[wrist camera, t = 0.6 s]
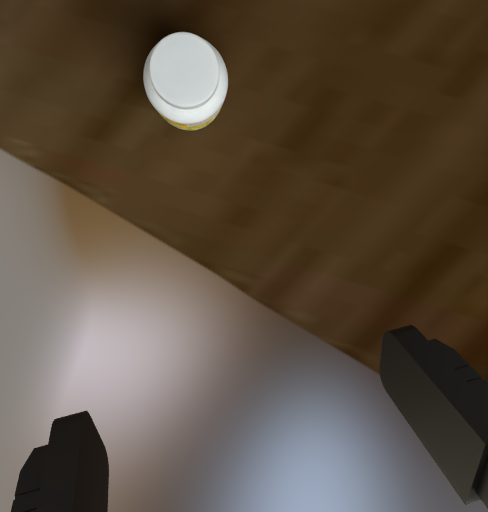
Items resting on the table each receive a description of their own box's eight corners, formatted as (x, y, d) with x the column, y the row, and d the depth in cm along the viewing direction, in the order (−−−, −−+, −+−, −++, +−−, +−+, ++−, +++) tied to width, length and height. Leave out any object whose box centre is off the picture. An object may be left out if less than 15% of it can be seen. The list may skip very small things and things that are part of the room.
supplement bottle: (232, 114, 33) (247, 98, 24) (172, 141, 33) (163, 136, 24) (204, 47, 32) (207, 2, 23) (141, 75, 32) (119, 42, 22)
